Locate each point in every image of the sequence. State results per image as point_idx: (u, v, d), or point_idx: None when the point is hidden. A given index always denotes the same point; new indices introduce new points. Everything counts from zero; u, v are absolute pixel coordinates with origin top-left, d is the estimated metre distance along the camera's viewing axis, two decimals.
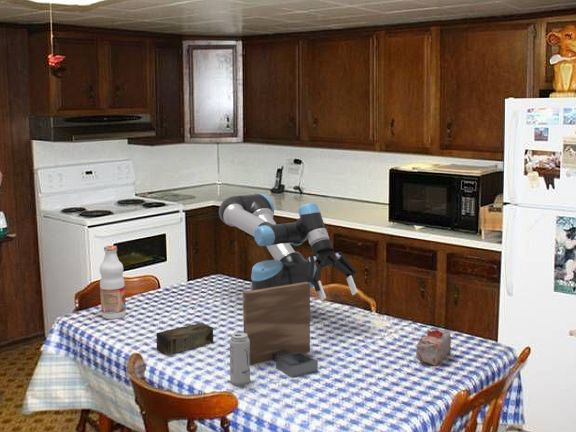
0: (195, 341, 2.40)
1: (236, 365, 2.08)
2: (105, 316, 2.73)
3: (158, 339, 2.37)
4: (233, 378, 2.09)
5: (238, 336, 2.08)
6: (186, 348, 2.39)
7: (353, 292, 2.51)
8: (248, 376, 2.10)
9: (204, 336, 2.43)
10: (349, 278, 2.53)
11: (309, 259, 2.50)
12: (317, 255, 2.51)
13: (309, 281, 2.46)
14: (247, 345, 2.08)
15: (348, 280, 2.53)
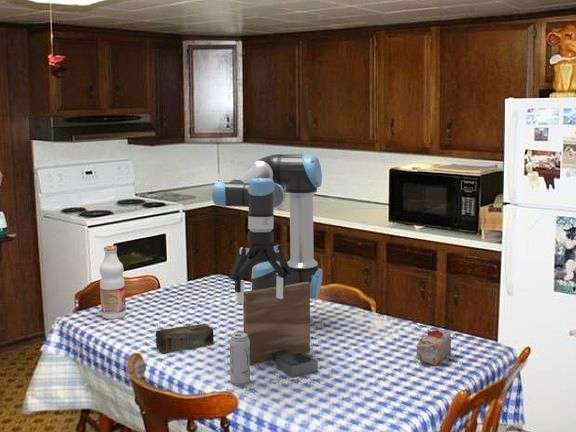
0: (192, 341, 2.40)
1: (236, 365, 2.08)
2: (105, 316, 2.73)
3: (156, 337, 2.40)
4: (233, 378, 2.09)
5: (238, 336, 2.08)
6: (183, 348, 2.39)
7: (278, 296, 2.14)
8: (248, 376, 2.10)
9: (203, 337, 2.42)
10: (279, 279, 2.12)
11: (240, 251, 2.05)
12: (251, 248, 2.06)
13: None
14: (247, 345, 2.08)
15: (277, 280, 2.13)
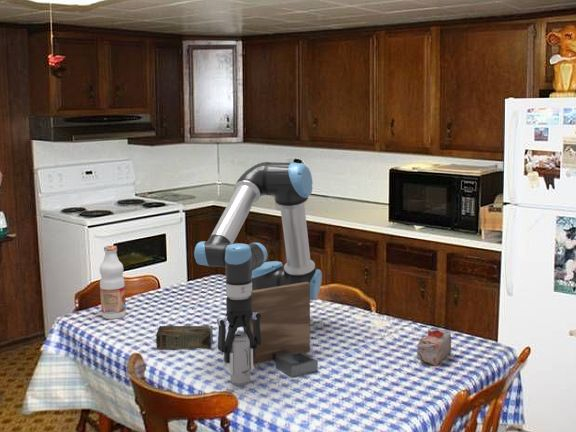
0: (187, 342, 2.40)
1: (236, 365, 2.08)
2: (105, 316, 2.73)
3: None
4: (233, 378, 2.09)
5: (238, 336, 2.08)
6: (178, 347, 2.40)
7: None
8: (248, 376, 2.10)
9: (199, 339, 2.40)
10: None
11: (219, 323, 2.05)
12: (228, 316, 2.05)
13: None
14: (247, 345, 2.08)
15: None
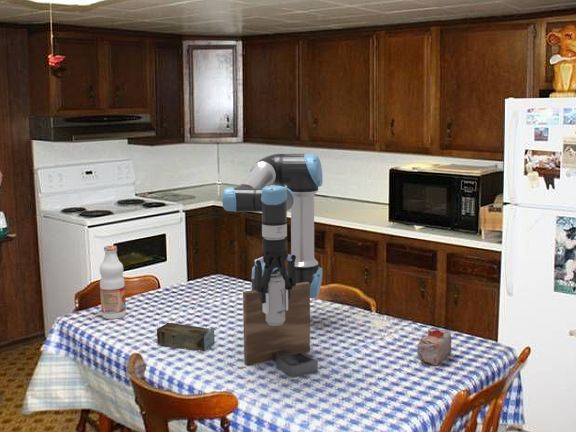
0: (183, 342, 2.40)
1: (271, 305, 2.11)
2: (105, 316, 2.73)
3: None
4: (268, 319, 2.13)
5: (274, 277, 2.12)
6: (175, 345, 2.41)
7: None
8: (283, 316, 2.13)
9: (194, 340, 2.39)
10: None
11: (255, 263, 2.09)
12: (264, 256, 2.09)
13: None
14: (282, 285, 2.11)
15: None
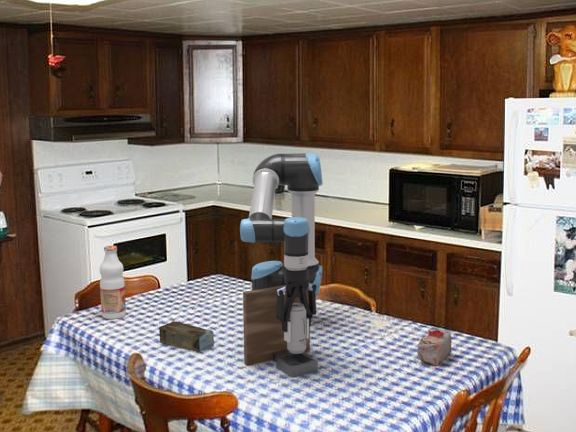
0: (181, 341, 2.40)
1: (293, 334, 2.17)
2: (105, 316, 2.73)
3: None
4: (290, 347, 2.18)
5: (295, 306, 2.17)
6: (174, 344, 2.42)
7: None
8: (305, 344, 2.19)
9: (191, 341, 2.38)
10: None
11: (278, 293, 2.14)
12: (287, 286, 2.14)
13: None
14: (304, 314, 2.17)
15: None
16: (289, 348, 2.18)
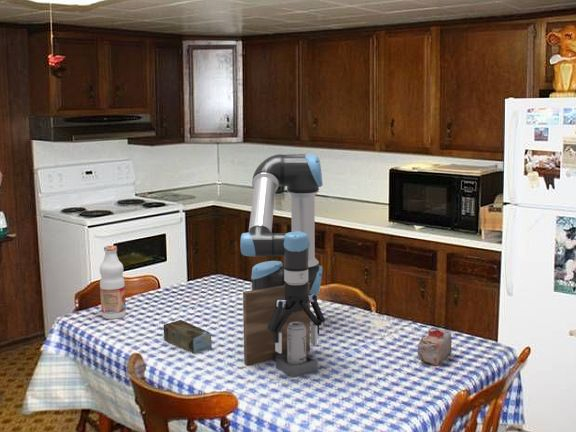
0: (180, 341, 2.41)
1: (293, 352, 2.18)
2: (105, 316, 2.73)
3: None
4: None
5: (295, 325, 2.18)
6: (175, 343, 2.44)
7: (312, 342, 2.24)
8: None
9: (187, 341, 2.38)
10: (314, 327, 2.22)
11: (277, 304, 2.14)
12: (287, 300, 2.15)
13: None
14: (304, 333, 2.18)
15: (312, 327, 2.23)
16: None
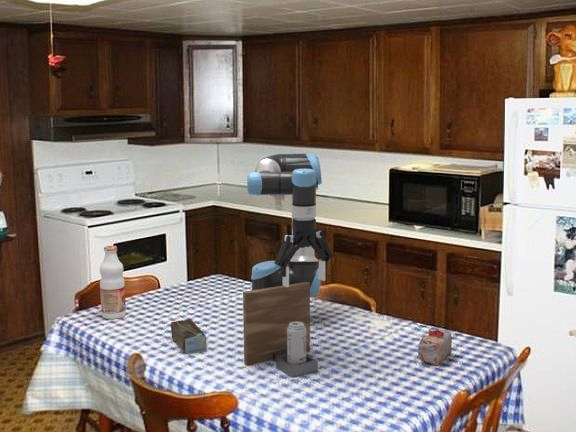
0: (178, 340, 2.42)
1: (293, 352, 2.18)
2: (105, 316, 2.73)
3: None
4: None
5: (295, 325, 2.18)
6: (176, 342, 2.45)
7: (320, 278, 2.28)
8: None
9: (182, 341, 2.38)
10: (321, 263, 2.26)
11: (285, 238, 2.18)
12: (295, 235, 2.19)
13: (277, 265, 2.19)
14: (304, 333, 2.18)
15: (320, 263, 2.27)
16: None
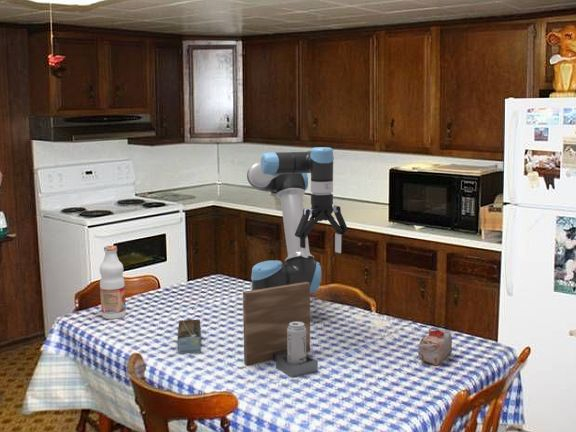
0: None
1: (293, 352, 2.18)
2: (105, 316, 2.73)
3: None
4: None
5: (296, 325, 2.18)
6: None
7: (336, 250, 2.43)
8: None
9: None
10: (338, 236, 2.42)
11: (304, 212, 2.34)
12: (314, 209, 2.35)
13: (297, 236, 2.34)
14: (304, 333, 2.18)
15: (336, 237, 2.43)
16: None
